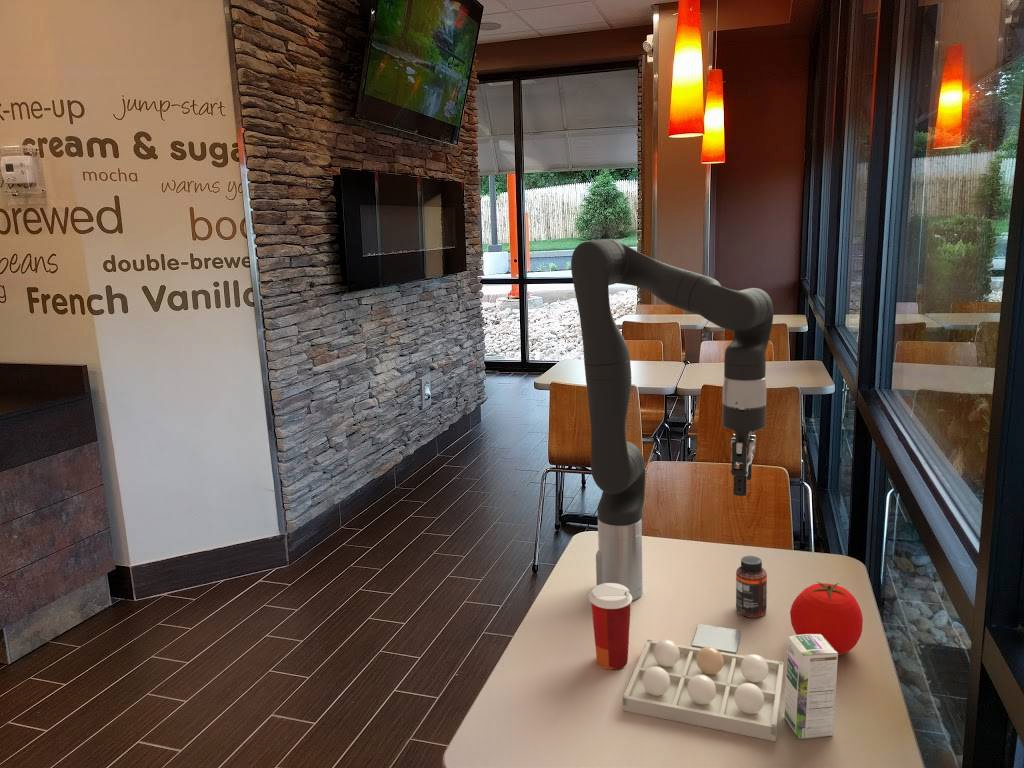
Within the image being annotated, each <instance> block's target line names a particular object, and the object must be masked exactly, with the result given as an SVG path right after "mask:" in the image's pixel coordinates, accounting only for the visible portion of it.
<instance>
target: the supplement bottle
mask: <svg viewBox="0 0 1024 768" xmlns="http://www.w3.org/2000/svg"><path fill="white" fill-rule="evenodd" d="M762 561H763V560H762V559H761V557H758V556H757V555H756V556H755V555H745V556H742V557H741V559H740V566H739V567H738V568H737V569H736V572H735V573H736V574H735V575H736V576H735V609H736V611H737V612H738V614H739V615H742V616H744V617H747V618H760V617H762V616H764V615H765V614H766V612H767V602H768V601H767V600H768V599H767V598H768V597H767V593H768V592H767V590H768V589H767V588H768V587H767V586H768V583H767V582H768V581H767V580H768V574H767V571H766V570H765V569H764V568H763V563H762Z"/></svg>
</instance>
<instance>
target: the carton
mask: <svg viewBox="0 0 1024 768" xmlns="http://www.w3.org/2000/svg"><path fill="white" fill-rule="evenodd" d="M658 642H659V640H652V639H647V640H646V642H645V645H644V647H643V650H642V652H641V654H640V657H639V659H638V661H637V663H636V666H635V668H634V671H633V673H632V676H631V678H630V680H629V682H628V685H627V687H626V689H625V691H624V694H623V696H622V710H623V711H624V712H629V713H634V714H639V715H643V716H648V717H649V716H650V717H654V718H659V719H663V720H664V719H665V720H670V721H672V722H673V721H674V722H678V723H684V724H689V725H694V726H698V727H704V728H708V729H712V730H717V731H724V732H728V733H733V734H736V735H743V736H747V737H753V738H756V739H757V738H758V739H760V740H761V739H762V740H767V741H771V742H772V741H773V742H777V736H778V727H779V718H780V708H781V700H782V690H783V685H784V684H783V683H784V673H785V672H784V671H785V668H784V667H785V662H783V661H779V660H772V659H767V658H764V659H765V661H766V662H767V664H768V668H769V672H768V675H767V677H766V678H765V680H763V681H762V682H758V683H754V682H750V681H748V680H747V679H746V678H745V677H744V676H743V675H742V672H741V668H740V666H741V662H742V660H743V658H744V657H746V656H747V655H742V654H737V653H736V654H731V653H725V652H720V653H721V654H722V657H723V661H724V663H723V667H722V669H721V670H720V672H718V673H717V674H714V675H709V674H705V673H704V672H702V671H701V670H700V669H699V667H698V665H697V661H696V658H697V654H698V652H699V651H700V650H701V648H695V647H692V646H688V645H682V644H677V643H675V644H676V645H677V646H678V648H679V651H680V657H679V660H678V662H677V663H676V664H675V665H673V666H671V667H664V666H661V665H660V664H659V663H658V662H657V661H656V660H655V658H654V647H655V645H656V644H657V643H658ZM696 675H705V676H708V677H709V678H710V679H711V680H712V681H713V682H714V684H715V687H716V695H715V698H714V699H713V700H712V701H711V702H710V703H708V704H705V705H701V704H697V703H695V702H694V701H693V700H692V699H691V698H690V696H689V694H688V691H687V686H688V682H689V681H690V679H691V678H692V677H694V676H696Z"/></svg>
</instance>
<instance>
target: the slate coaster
mask: <svg viewBox="0 0 1024 768" xmlns="http://www.w3.org/2000/svg"><path fill="white" fill-rule="evenodd" d="M741 630H742V629H741ZM741 630H740V629H734V628H728V627H720V626H714V625H708V624H701V623H698V626H697V629H696V631H695V635H694V638H693V641H692V644H691V647H695V648H701V649H702V648H705V647H713V648H715V649H717V650H718V651H719V652H725V653H731V654H737V653H738V648H739V643H740V638H741V633H742V631H741Z"/></svg>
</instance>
